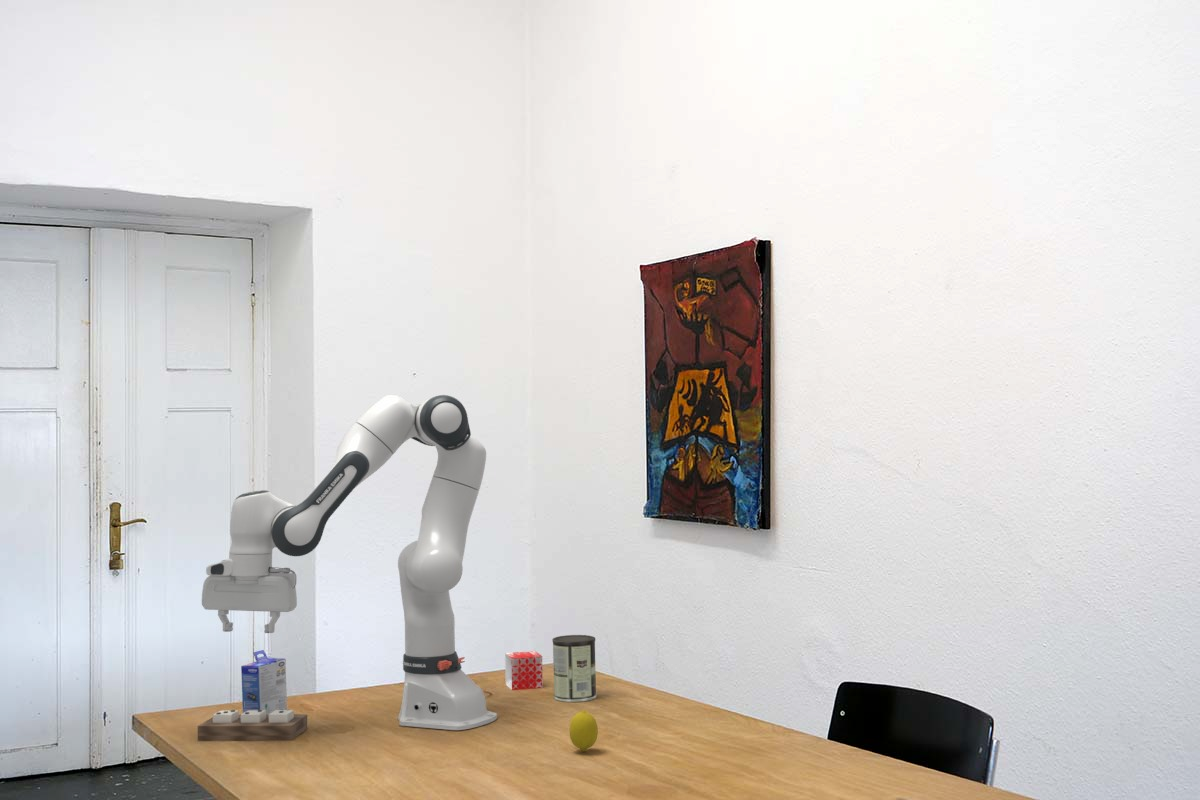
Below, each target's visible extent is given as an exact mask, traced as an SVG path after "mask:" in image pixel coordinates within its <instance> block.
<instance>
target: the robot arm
mask: <svg viewBox="0 0 1200 800" xmlns="http://www.w3.org/2000/svg"><path fill="white" fill-rule="evenodd" d="M471 435H472V434H471V428H470V423H469V417H468V413H467V411H466V408H465V406H464V405H463V403H462V402H461V401H460V400H459V399H457V398H455V397H454V396H451V395H446V394H442V395H441V394H440V395H436V396H433V397H429V398H427V399H426V400H424V401H422V402H421V403H420V402H419V403H418V404H412V403H410V402H409V401H408V400H406V399H405V398H403V397H401V396H400V395H396V394H387V395H384V396H383V397H382V398H381V399H379V400H377V401H376V402H375V403H374V404H373V405H372V406H370V407H369V408H368V409H367V410H366V411H365V412H364V413H363V414H362V415H360V417H359V418H357V419H356V421H355V422H354V423H353V424H352V426H351V427H350V428H349V429H348V430H347V432H346V433H345V435H343V437H342V439H341V441H340V442H339V444H338V446H337V448H336V454H335V457H334V458H335V459H334V461H333V464H332V466H331V468H330V470H329V471H328V473H327V474H326V475H325V476H324V478H322V480H321V481H319V483H318V484H317V486H316V487H315V488H314V489H313V490H312V492H311V493H310V494H308V496H307V497H306V499H304V500H303V501H302V502H300V503H299V504H297V505H295V504H294V503H290V502H289V501H286V500H284V499H281V498H279V497H277V496H276V495H274V494H273V493H272V492H270V491H269V490H267V489H266V490H263V489H262V490H256V491H248V492H246V493H242V494H240V495H237V497H236V498H235V499H234V501H233V502H232V506H231V512H230V520H229V521H230V522H229V524H230V525H229V535H230V539H231V543H230V548H229V553H228V559H224V560H221V561H218V562H216V563H215V562H214V563H212V564H209V565H207V566H206V567H205V568H206V569H205V573H206V575H207V577H205V579H204V582H203V585H202V591H201V592H202V593H201V606H202V607H203V609H204V610H206V611H207V610H208V611H211V610H213V611H217V616H218V619H219V620H220V621H221V624H222V632H226V633H227V632H230V633H231V632H233V630H234V627H233V626H234V622H230V620H229V618H228V616H227V615H229V611H235V612H236V611H237V612H238V611H242V612H269V617H270V618H271V619H270V621H269V622H268V623H266V624H264V633H265V634H273V633H274V632H275V628H276V627H275V625H276V623H277V622H278V620H279V619H280V617H281V613H289V612H292V611H294V610H295V609H296V608H297V603H298V602H297V601H298V600H297V598H298V597H297V589H296V587H297V586H296V585H297V574H296V572H295V571H294V570H293V569H291V568H290V567H278V566H277V567H273V549H274V548H277V549H278V551H280V553H282V554H284V555H287V556H290V557H303V556H305V555H308V554H309V553H312V552H313V551H314V550H315V549H316V548H317V546H318V545H319V543H320V541H321V539H322V537H323V533H324V530H325V527H326V524H327V522H328V521H329V519H330V518H331V517H332V515H333V514H334V513H335V511H336V510H337V509H338V508H339V507H340V506H341V505H342V503H344V501H345V500H346V499H347V498H348V496H349V495H350V494H351V493H352V492H353V490H355V488H356V487H358V486H359V485H360V484H361V483H363V482H364V481H366V480H367V479H369V478H370V476H372V475H374V473H376V472H377V471H378V470H380V469H381V467H383V466H384V465H385V464H386V463H387V462H388V460H390V459H391V458H392V457H393V455H394V454H395V453H396V452H397V451H398V450H399V448H400V447H401V446H402V445H403V444H404V443H405V442H407V441H408V440H409V439H412V440H413V441H416V442H418V443H420V444H423V445H425V446H431V447H435V448H436V451H437V462H436V463H437V464H436V466H435V469H434V472H433V475H432V477H431V480H430V483H429V487H428V490H427V493H426V496H425V498H424V502H423V505H422V509H421V520H420V527H419V532H418V538H417V540H415V541H412V542H409V544H407V545H406V546H405V547H404V548H403V549H402V550H401V552H400V553H399V556H398V559H397V568H398V573H399V585H400V594H401V601H402V608H403V615H404V646H405V647H404V652H405V653H404V654H403V656H402V658H403V659H402V670H403V671H404V681H403V690H402V699H401V704H400V705H401V706H400V709H399V710H400V711H399V713H398V716H397V719H398V721H399V722H398V724H399V725H398V726H400V727H405V726H406V727H413V728H414V727H415V728H426V729H438V730H447V731H464V730H468V729H474V728H477V727H481V726H485V725H488V724H490V723H492V722H494V721H496V720H497V719H498V713H497V712H493V711H490V710H487V701H486V696H485V692H484V691H483V689H482V688H481V687H480V686H478V685H477V684H476V683H475V682H474V681H473V679H471V678H470V677H469V676H468V675H467V674H466V673H465V672H464V671H463V670H462V663H465V662H466V661H465V660H464V659H465V656H464V657H459V656H458V653H457V651H456V640H455V639H456V637H455V635H456V634H455V627H456V626H455V625H456V624H455V623H456V621H455V614H454V611H453V607H452V601H451V596H450V595H451V594H450V591H451V590H452V589H454V588H455V587H456V586H457V585H458V584H459V582H460V581H461V580H462V579H461V578H462V575H463V572H464V571H463V570H464V569H463V568H464V566H463V561H464V557H465V556H464V555H465V549H466V543H467V536H468V530H469V525H470V521H471V518H472V514H473V511H474V507H475V504H476V502H477V499H478V496H479V494H480V493H479V491H480V489H481V486H482V482H483V477H484V473H485V467H486V461H487V450H486V448H485V446H484V445H483V443H482V442H480V441H479V440H477V439H476V438H473V437H472V436H471Z"/></svg>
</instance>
